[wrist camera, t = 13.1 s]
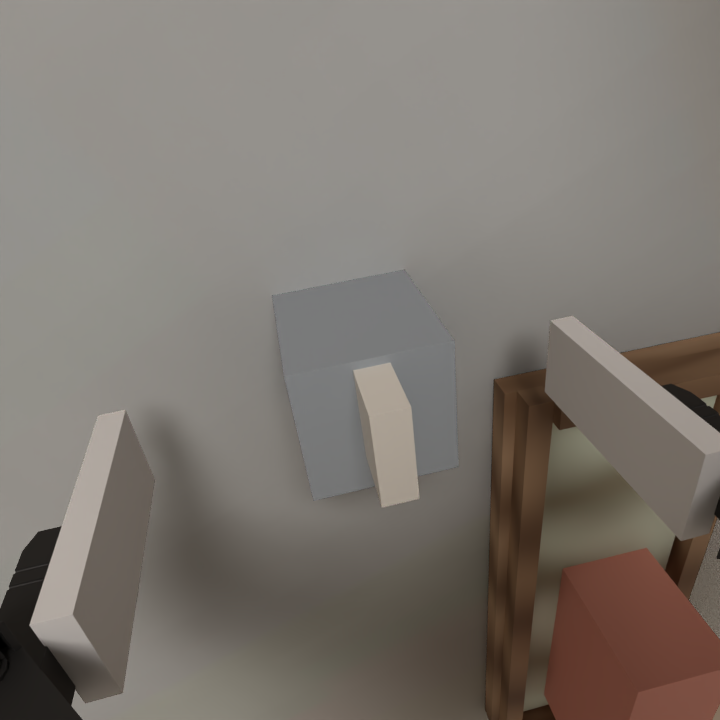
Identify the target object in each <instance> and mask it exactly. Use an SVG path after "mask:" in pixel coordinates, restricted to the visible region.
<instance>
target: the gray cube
mask: <svg viewBox="0 0 720 720" xmlns="http://www.w3.org/2000/svg"><path fill="white" fill-rule="evenodd" d="M272 298H273V305H274V312H275V318H276V325H277V332H278V339H279V346H280V352H281V359H282V366H283V373H284V378H285V383H286V387H287V391H288V395H289V400H290V404H291V408H292V412H293V417H294V421H295V425H296V429H297V433H298V438H299V442H300V446H301V450H302V455H303V459H304V463H305V467H306V471H307V476H308V480H309V484H310V488H311V493H312V497H313V501H315V500H320V499H324V498H328V497H332V496H337V495H341V494H345V493H349V492H354V491H358V490H362V489H366V488H371V487H376V490H377V493H378V497H379V500H380V503H381V506H382V508H383V507H387V506H391V505H396V504H400V503H404V502H408V501H412V500H416V499H419V488H418V476H422V475H426V474H430V473H435V472H439V471H443V470H447V469H452V468H456V467H459V464H458V433H457V402H456V370H455V341H454V339H453V338H452V336H451V335H450V334H449V332H448V331H447V329H446V328H445V326H444V325H443V324H442V322H441V321H440V319H439V318H438V316H437V315H436V314H435V312H434V311H433V309H432V308H431V306H430V305H429V304H428V302H427V301H426V299H425V298H424V297H423V295H422V294H421V292H420V291H419V289H418V288H417V287H416V285H415V284H414V282H413V281H412V279H411V278H410V277H409V275H408V274H407V272H406V271H405V270H400V271H395V272H390V273H385V274H380V275H375V276H370V277H365V278H359V279H354V280H349V281H344V282H339V283H334V284H329V285H323V286H318V287H313V288H308V289H303V290H298V291H293V292H288V293H282V294H277V295H272Z"/></svg>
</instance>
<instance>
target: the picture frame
mask: <svg viewBox="0 0 720 720" xmlns="http://www.w3.org/2000/svg"><path fill="white" fill-rule="evenodd" d="M620 354H621V355H623V356H624V357H625V358H626V359H628V360H629V361H630V362H631V363H633V364H634V365H635V366H636V367H638V368H639V369H640V370H641V371H643V372H644V373H645V374H646V375H648V376H649V377H650V378H651V379H653V380H654V381H655V382H657V383H658V384H659V385H660V386H663V385H667V384H673V385H676V386H678V387H680V388H683V389H685V390H687V391H690V392H692V393H693V394H694V395H696V396H697V397H698V398H700V399H701V400H702V401H704V402H705V403H706V405H707V406H710V407H712V408H713V409H714V410H716V411H717V412H718V413H719V415H720V332H719V333H714V334H709V335H704V336H700V337H695V338H690V339H685V340H681V341H676V342H671V343H666V344H661V345H657V346H652V347H647V348H642V349H638V350H633V351H628V352H623V353H620ZM545 381H546V369H542V370H537V371H532V372H528V373H523V374H518V375H513V376H509V377H504V378H499V379H494V404H493V441H492V477H491V514H490V550H489V587H488V624H487V660H486V697H485V710H486V713H487V716H488V718H489V720H556V719H555V717H554V715H553V713H552V711H551V708H550V706H549V704H548V702H547V700H546V698H545V696H544V690H545V684H546V677H547V670H548V664H549V657H550V650H551V644H552V637H553V630H554V623H555V617H556V610H557V603H558V597H559V590H560V583H561V577H562V570H563V568H567V567H571V566H575V565H579V564H583V563H587V562H591V561H595V560H599V559H603V558H607V557H611V556H615V555H619V554H623V553H627V552H632V551H636V550H640V549H644V548H647V549H648V550H649V551H650V553H651V554H652V555H653V556H654V558H655V559H656V560H657V561H658V563H659V564H660V565H661V566H662V568H663V569H664V570H665V571H666V573H667V574H668V575H669V577H670V578H671V579H672V580H673V582H674V583H675V584H676V585H677V587H678V588H679V589H680V590H681V592H682V593H683V594H684V595H685V597H686V598H687V599H688V600H689V598H690V595H691V592H692V589H693V586H694V583H695V580H696V578H697V575H698V572H699V569H700V566H701V563H702V560H703V557H704V555H705V552H706V549H707V546H708V543H709V540H710V537H711V535H712V532H713V529H714V526H715V523H716V520H717V517H716V516H715V517H714V520H713V523H712V526H711V529H710V533H709V534H705V535H702V536H698V537H694V538H691V539H687V540H683V541H680V540H679V539H678V537H677V536H676V535H675V534H674V533H673V532H672V531H671V530H670V529H669V528H668V526H667V525H666V524H665V523H664V522H663V521H662V520H661V519H660V518H659V517H658V516H657V514H656V513H655V512H654V511H653V510H652V509H651V508H650V507H649V506H648V505H647V503H646V502H645V501H644V500H643V499H642V498H641V497H640V496H639V495H638V494H637V492H636V491H635V490H634V489H633V488H632V487H631V486H630V485H629V484H628V483H627V481H626V480H625V479H624V478H623V477H622V476H621V475H620V474H619V473H618V472H617V470H616V469H615V468H614V467H613V466H612V465H611V464H610V463H609V462H608V461H607V459H606V458H605V457H604V456H603V455H602V454H601V453H600V452H599V451H598V450H597V449H596V447H595V446H594V445H593V444H592V443H591V442H590V441H589V440H588V439H587V438H586V436H585V435H584V434H583V433H582V432H581V431H580V430H579V429H578V428H577V427H576V425H575V424H574V423H573V422H572V421H571V420H570V419H569V418H568V417H567V416H566V414H565V413H564V412H563V411H562V410H561V409H560V408H559V407H558V406H557V405H556V403H555V402H554V401H553V400H552V399H551V398H550V397H549V396H548V395H547V394H546V392H545Z"/></svg>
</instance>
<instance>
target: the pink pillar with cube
mask: <svg viewBox="0 0 720 720" xmlns="http://www.w3.org/2000/svg"><path fill="white" fill-rule="evenodd" d="M544 696H545V698H546V700H547V702H548V704H549V706H550V708H551V711H552V713H553V715H554V717H555V719H556V720H712V719H713V717H714V715H715V713H716V711H717V709H718V707H719V705H720V639H719V638H718V637H717V636H716V634H715V633H714V632H713V631H712V629H711V628H710V627H709V626H708V624H707V623H706V622H705V621H704V619H703V618H702V617H701V616H700V614H699V613H698V612H697V611H696V609H695V608H694V607H693V605H692V604H691V603H690V602H689V600H688V599H687V598H686V597H685V595H684V594H683V593H682V592H681V590H680V589H679V588H678V587H677V585H676V584H675V583H674V582H673V580H672V579H671V578H670V577H669V575H668V574H667V573H666V571H665V570H664V569H663V568H662V566H661V565H660V564H659V563H658V561H657V560H656V559H655V558H654V556H653V555H652V554H651V553H650V551H649V550H648V549H647V548H644V549H640V550H636V551H632V552H627V553H623V554H619V555H615V556H611V557H607V558H603V559H599V560H595V561H591V562H587V563H583V564H579V565H575V566H571V567H567V568H563V570H562V577H561V583H560V590H559V597H558V603H557V610H556V617H555V623H554V630H553V637H552V644H551V650H550V657H549V664H548V670H547V677H546V684H545V690H544Z"/></svg>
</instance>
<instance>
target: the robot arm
mask: <svg viewBox="0 0 720 720" xmlns="http://www.w3.org/2000/svg"><path fill="white" fill-rule="evenodd" d="M545 392H546V394H547V395H548V396H549V397H550V398H551V399H552V400H553V401H554V402H555V403H556V405H557V406H558V407H559V408H560V409H561V410H562V411H563V412H564V413H565V414H566V416H567V417H568V418H569V419H570V420H571V421H572V422H573V423H574V424H575V425H576V427H577V428H578V429H579V430H580V431H581V432H582V433H583V434H584V435H585V436H586V438H587V439H588V440H589V441H590V442H591V443H592V444H593V445H594V446H595V447H596V449H597V450H598V451H599V452H600V453H601V454H602V455H603V456H604V457H605V458H606V459H607V461H608V462H609V463H610V464H611V465H612V466H613V467H614V468H615V469H616V470H617V472H618V473H619V474H620V475H621V476H622V477H623V478H624V479H625V480H626V481H627V483H628V484H629V485H630V486H631V487H632V488H633V489H634V490H635V491H636V492H637V494H638V495H639V496H640V497H641V498H642V499H643V500H644V501H645V502H646V503H647V505H648V506H649V507H650V508H651V509H652V510H653V511H654V512H655V513H656V514H657V516H658V517H659V518H660V519H661V520H662V521H663V522H664V523H665V524H666V525H667V526H668V528H669V529H670V530H671V531H672V532H673V533H674V534H675V535H676V536H677V537H678V539H679V540H680V541H683V540H687V539H691V538H694V537H698V536H702V535H705V534H709V533H710V529H711V526H712V523H713V520H714V517H715V516H716V517H717V518H718V519H719V520H720V415H719V413H718V412H717V411H716V410H714V409H713V408H712V407H710V406H707V405H706V403H705V402H704V401H702V400H701V399H700V398H698V397H697V396H696V395H694V394H693V393H692V392H690V391H687V390H685V389H683V388H680V387H678V386H676V385H673V384H667V385H663V386H660V385H659V384H658V383H657V382H655V381H654V380H653V379H651V378H650V377H649V376H648V375H646V374H645V373H644V372H643V371H641V370H640V369H639V368H638V367H636V366H635V365H634V364H633V363H631V362H630V361H629V360H628V359H626V358H625V357H624V356H623V355H621V354H620V353H619V352H618V351H616V350H615V349H614V348H612V347H611V346H610V345H609V344H607V343H606V342H605V341H604V340H602V339H601V338H600V337H599V336H597V335H596V334H595V333H594V332H592V331H591V330H590V329H589V328H587V327H586V326H585V325H584V324H582V323H581V322H580V321H579V320H577V319H576V318H575V317H573V316H570V317H565V318H560V319H555V320H551V321H550V331H549V343H548V356H547V368H546V381H545ZM154 483H155V479H154V476H153V474H152V472H151V469H150V467H149V465H148V462H147V460H146V457H145V455H144V453H143V450H142V448H141V445H140V443H139V441H138V438H137V436H136V433H135V431H134V429H133V426H132V424H131V422H130V419H129V417H128V414H127V412H126V410H122V411H117V412H113V413H108V414H103V415H98V417H97V420H96V423H95V426H94V430H93V433H92V436H91V439H90V442H89V445H88V448H87V451H86V454H85V457H84V460H83V463H82V466H81V469H80V472H79V475H78V478H77V481H76V484H75V487H74V491H73V494H72V497H71V500H70V503H69V506H68V509H67V512H66V515H65V518H64V521H63V524H62V526H61V527H57V528H52V529H48V530H44V531H40V532H38V533H37V534H36V535H35V536H34V538H33V539H32V540H31V541H30V543H29V544H28V545H27V546H26V547H25V549H24V550H23V551H22V554H21V556H20V559H19V562H18V564H17V567H16V569H15V571H16V573H15V574H13V577H12V580H11V582H10V585H9V590H7V592H6V595H5V598H4V600H3V603H2V605H1V608H0V720H82V719H81V717H80V716H79V715H78V714H77V713H76V711H75V710H74V709H73V708H72V706H71V705H72V700H73V696H74V692H75V690H76V691H77V692H78V694H79V695H80V697H81V698H82V699H83V701H84V702H85V703H88V702H92V701H95V700H99V699H103V698H106V697H110V696H114V695H117V694H121V693H123V688H124V681H125V674H126V668H127V661H128V655H129V648H130V641H131V635H132V628H133V622H134V615H135V608H136V602H137V595H138V589H139V582H140V575H141V569H142V562H143V556H144V549H145V542H146V536H147V529H148V523H149V516H150V509H151V503H152V496H153V490H154ZM717 559H720V549H719V552H718V555H717Z"/></svg>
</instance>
